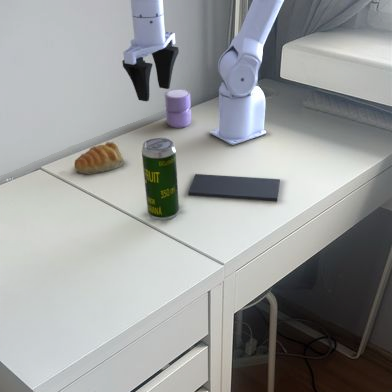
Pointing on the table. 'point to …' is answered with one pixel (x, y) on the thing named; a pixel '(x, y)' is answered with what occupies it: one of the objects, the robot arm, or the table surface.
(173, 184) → the green metal cylinder
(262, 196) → the felt mat
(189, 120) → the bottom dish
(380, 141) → the table surface
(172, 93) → the top dish
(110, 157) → the pastry
